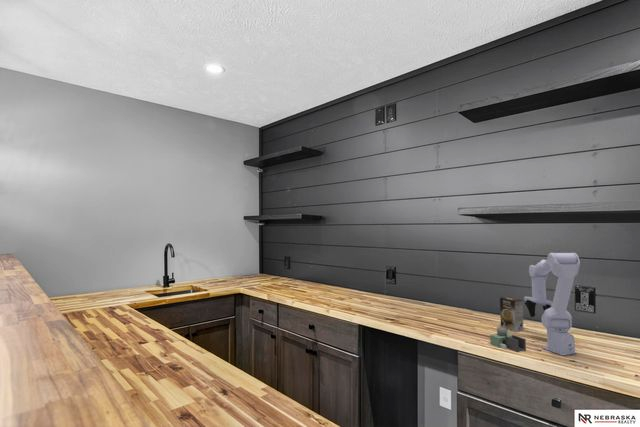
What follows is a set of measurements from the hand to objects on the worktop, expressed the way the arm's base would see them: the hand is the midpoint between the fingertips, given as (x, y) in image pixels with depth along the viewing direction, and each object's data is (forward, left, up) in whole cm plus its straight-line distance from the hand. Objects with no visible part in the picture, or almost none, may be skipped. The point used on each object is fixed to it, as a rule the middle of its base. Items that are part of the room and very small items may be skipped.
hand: (539, 318), depth 165 cm
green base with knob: (-1, +23, -9) cm, 25 cm away
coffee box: (+16, 0, -10) cm, 19 cm away
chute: (-6, +23, -10) cm, 26 cm away
